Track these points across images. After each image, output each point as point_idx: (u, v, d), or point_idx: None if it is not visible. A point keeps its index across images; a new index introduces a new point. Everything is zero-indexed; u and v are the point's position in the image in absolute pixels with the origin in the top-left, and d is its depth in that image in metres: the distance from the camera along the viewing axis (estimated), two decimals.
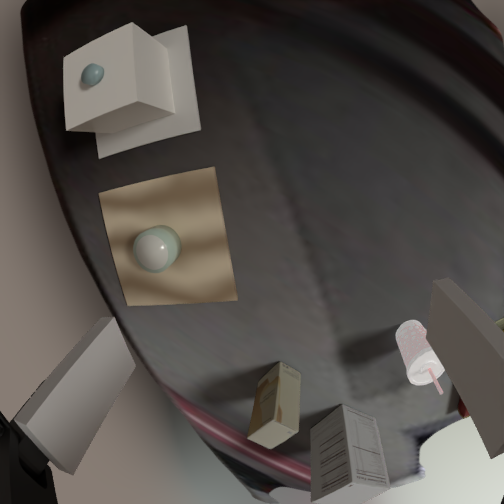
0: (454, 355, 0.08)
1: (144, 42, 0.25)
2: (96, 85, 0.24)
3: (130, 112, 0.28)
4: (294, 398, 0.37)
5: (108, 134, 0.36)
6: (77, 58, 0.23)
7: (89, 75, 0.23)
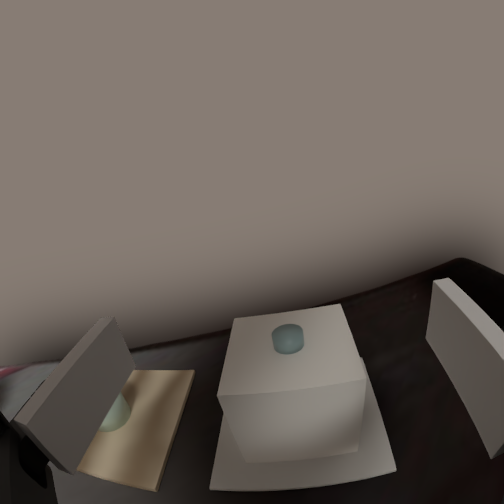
0: (454, 355, 0.08)
1: (339, 408, 0.18)
2: (272, 347, 0.22)
3: None
4: None
5: None
6: (329, 319, 0.24)
7: (283, 333, 0.22)
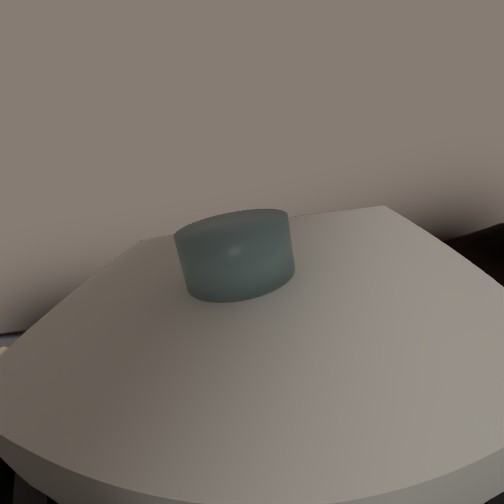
0: None
1: None
2: (184, 282, 0.07)
3: None
4: None
5: None
6: (369, 224, 0.08)
7: (217, 224, 0.06)
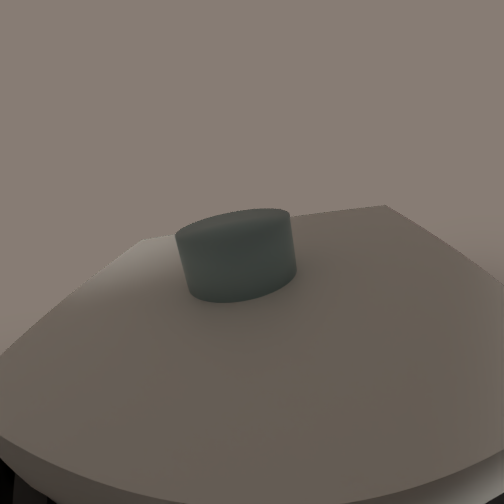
0: None
1: None
2: (185, 282, 0.07)
3: None
4: None
5: None
6: (370, 224, 0.08)
7: (219, 224, 0.06)
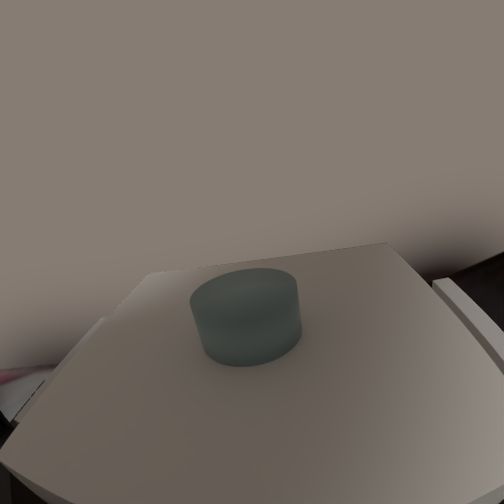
0: None
1: None
2: (199, 338, 0.07)
3: None
4: None
5: None
6: (371, 270, 0.09)
7: (231, 291, 0.07)
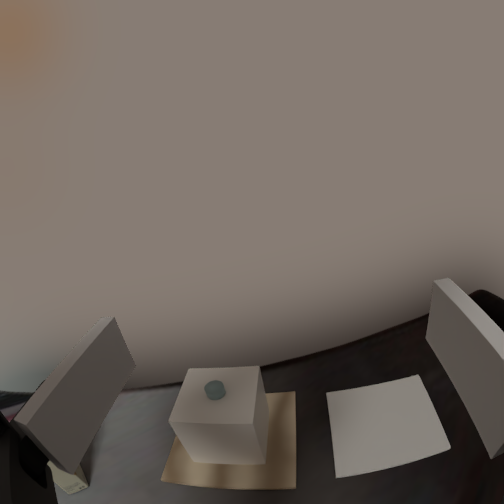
0: (454, 355, 0.08)
1: (241, 436, 0.29)
2: (206, 393, 0.33)
3: None
4: None
5: (347, 400, 0.39)
6: (247, 378, 0.35)
7: (211, 386, 0.33)
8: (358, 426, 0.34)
